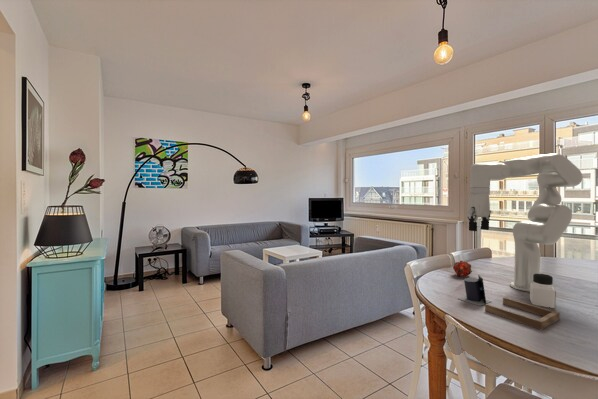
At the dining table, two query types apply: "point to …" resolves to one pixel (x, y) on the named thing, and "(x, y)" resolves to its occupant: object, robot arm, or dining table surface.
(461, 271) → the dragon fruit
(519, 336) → the dining table surface
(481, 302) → the mat
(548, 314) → the walled lane
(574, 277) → the dining table surface
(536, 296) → the medicine bottle
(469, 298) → the speaker
